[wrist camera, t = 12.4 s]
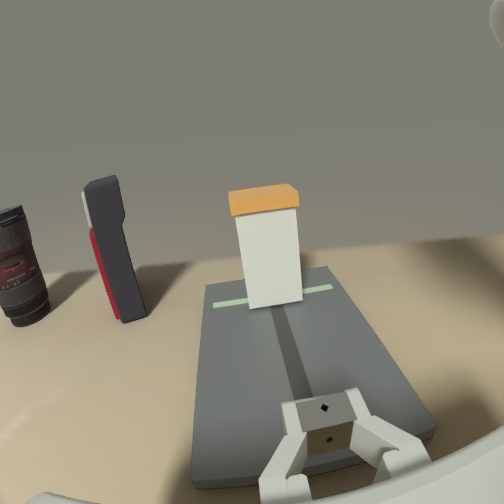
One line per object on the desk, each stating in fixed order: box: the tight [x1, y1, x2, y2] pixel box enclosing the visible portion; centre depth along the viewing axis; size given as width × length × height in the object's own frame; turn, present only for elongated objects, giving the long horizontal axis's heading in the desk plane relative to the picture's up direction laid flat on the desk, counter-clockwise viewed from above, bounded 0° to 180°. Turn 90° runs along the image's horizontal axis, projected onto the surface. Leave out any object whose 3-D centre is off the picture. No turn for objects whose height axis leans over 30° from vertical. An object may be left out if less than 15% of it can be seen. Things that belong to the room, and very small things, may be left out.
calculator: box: [82, 175, 147, 323], centre depth 34 cm, size 11×4×15 cm, turn 26°
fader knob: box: [229, 184, 303, 309], centre depth 29 cm, size 6×5×10 cm
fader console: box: [191, 266, 437, 489], centre depth 25 cm, size 14×24×1 cm, turn 5°
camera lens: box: [0, 205, 50, 327], centre depth 33 cm, size 8×8×15 cm
